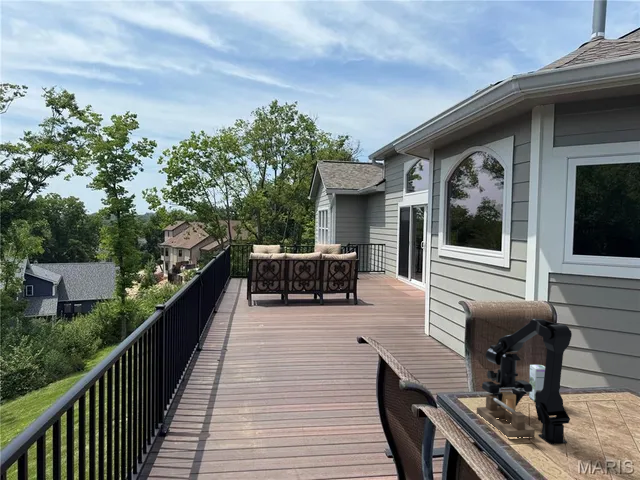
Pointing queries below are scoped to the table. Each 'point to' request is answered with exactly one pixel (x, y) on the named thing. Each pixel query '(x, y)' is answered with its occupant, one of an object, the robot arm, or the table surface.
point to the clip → (509, 400)
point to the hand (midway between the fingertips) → (506, 408)
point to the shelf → (516, 418)
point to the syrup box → (536, 379)
